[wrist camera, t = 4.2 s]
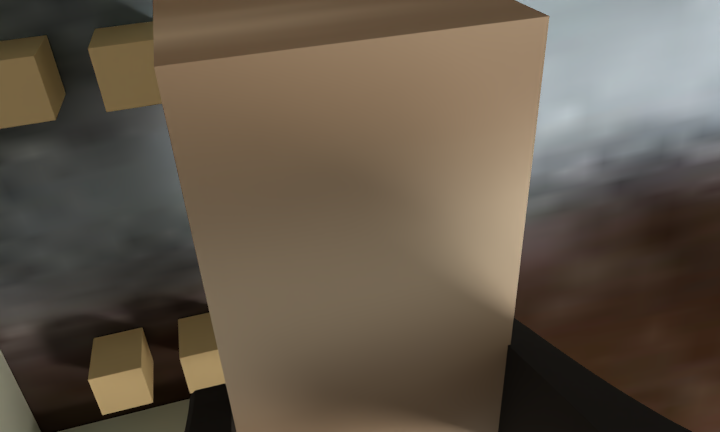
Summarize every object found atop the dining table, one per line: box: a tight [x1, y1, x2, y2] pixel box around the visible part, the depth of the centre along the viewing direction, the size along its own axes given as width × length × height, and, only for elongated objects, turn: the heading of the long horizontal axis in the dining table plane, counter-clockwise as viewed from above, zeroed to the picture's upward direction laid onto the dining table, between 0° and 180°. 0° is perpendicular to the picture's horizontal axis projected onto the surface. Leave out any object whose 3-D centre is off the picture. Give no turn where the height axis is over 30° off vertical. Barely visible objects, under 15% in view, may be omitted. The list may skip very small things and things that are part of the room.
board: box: [153, 0, 549, 432], centre depth 13 cm, size 14×5×4 cm, turn 3°
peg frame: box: [0, 21, 225, 432], centre depth 18 cm, size 18×12×2 cm
